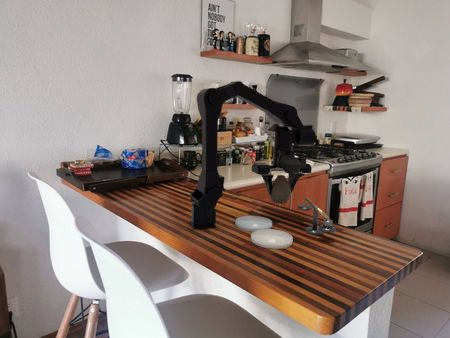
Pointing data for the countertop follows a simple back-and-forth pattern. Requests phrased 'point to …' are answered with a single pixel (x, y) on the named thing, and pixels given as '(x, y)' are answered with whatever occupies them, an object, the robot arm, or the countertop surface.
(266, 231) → the dish low
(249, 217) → the white round plate
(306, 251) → the countertop surface
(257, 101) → the robot arm
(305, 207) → the balance
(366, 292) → the countertop surface
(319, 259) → the countertop surface
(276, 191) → the vase
